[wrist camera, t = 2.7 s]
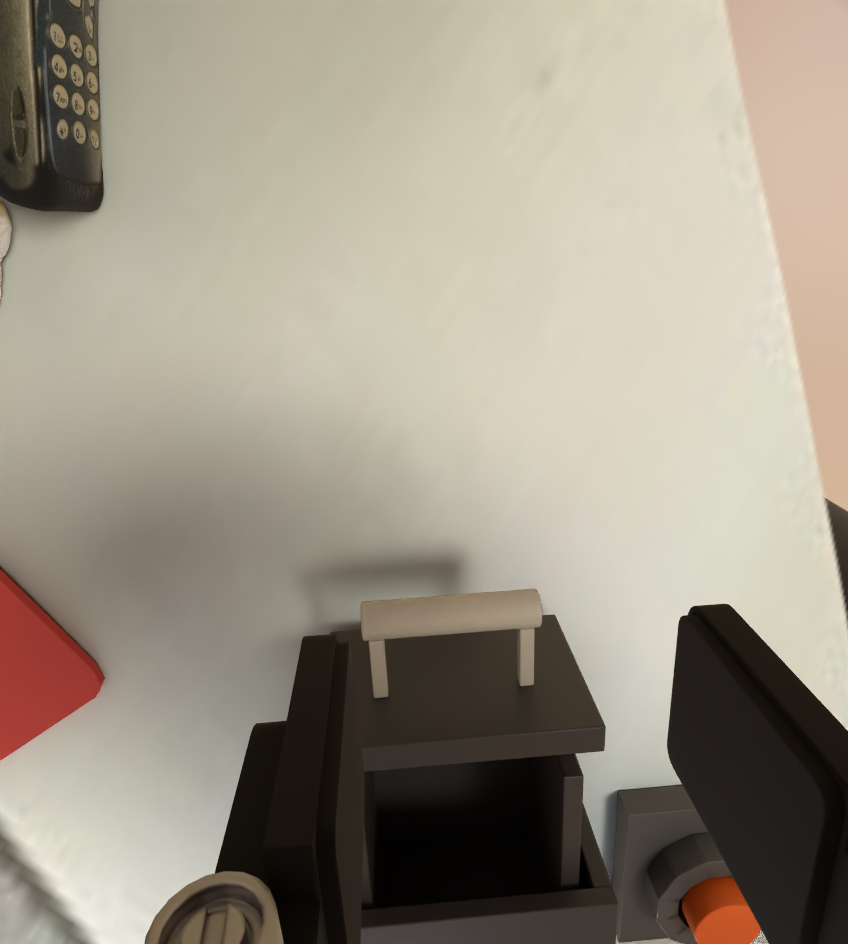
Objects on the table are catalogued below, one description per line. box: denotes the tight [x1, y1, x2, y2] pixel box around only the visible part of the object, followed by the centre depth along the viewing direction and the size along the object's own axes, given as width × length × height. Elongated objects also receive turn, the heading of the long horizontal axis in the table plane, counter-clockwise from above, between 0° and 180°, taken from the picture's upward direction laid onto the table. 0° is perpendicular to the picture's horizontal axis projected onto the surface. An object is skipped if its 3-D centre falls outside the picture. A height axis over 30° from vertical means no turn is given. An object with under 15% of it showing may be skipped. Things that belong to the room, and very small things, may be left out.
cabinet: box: [360, 802, 618, 944], centre depth 34 cm, size 15×12×10 cm
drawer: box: [330, 589, 606, 910], centre depth 30 cm, size 18×11×8 cm, turn 3°
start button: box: [682, 876, 761, 944], centre depth 36 cm, size 4×4×2 cm
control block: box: [612, 785, 733, 944], centre depth 38 cm, size 9×10×4 cm
